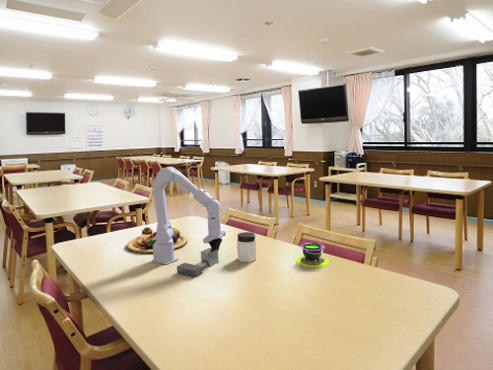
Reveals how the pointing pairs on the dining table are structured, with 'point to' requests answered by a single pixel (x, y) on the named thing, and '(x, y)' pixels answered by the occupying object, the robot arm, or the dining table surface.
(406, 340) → the dining table surface
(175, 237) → the wooden plate with food
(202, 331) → the dining table surface
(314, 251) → the toy cauldron
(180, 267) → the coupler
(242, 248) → the jar
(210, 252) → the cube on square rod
